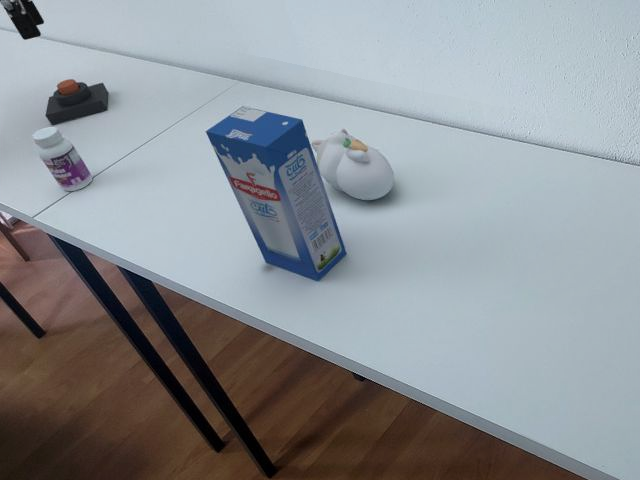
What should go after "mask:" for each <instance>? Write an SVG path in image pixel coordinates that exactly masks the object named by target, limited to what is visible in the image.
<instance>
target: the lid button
mask: <svg viewBox="0 0 640 480" xmlns="http://www.w3.org/2000/svg"><path fill="white" fill-rule="evenodd" d="M76 82H77V81H76V80H75V79H73V78H69V79H65V80H62V81H60V82H59V83H58V84H57V85H56V89H59V91H60V93H61V94H62V95H67V94H71V93H73V92H76V91H77V90H79V89H80V88H79V86H78V85H77V83H76Z"/></svg>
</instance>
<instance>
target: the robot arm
mask: <svg viewBox="0 0 640 480" xmlns="http://www.w3.org/2000/svg"><path fill="white" fill-rule="evenodd" d="M0 4H1V6H2V7H3V9H4V10H5V12H6V14H7V16H8V17H9V18H10V20H11V22H12V24H13V25H14V27H15V29H16V30H17V32H18V33H19V35H20V37H21V38H22V39H23V40H24V41H26V40H27V41H28V40H30V39H34V38H38V37H41V36H42V33H41V31H40V29H39V27H38V26H42V25H44V24H45V20H44V18H43V16H42V15H41V13H40V11H39V10H38V7H37V6H36V5H35V3H34V1H33V0H0Z"/></svg>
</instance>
